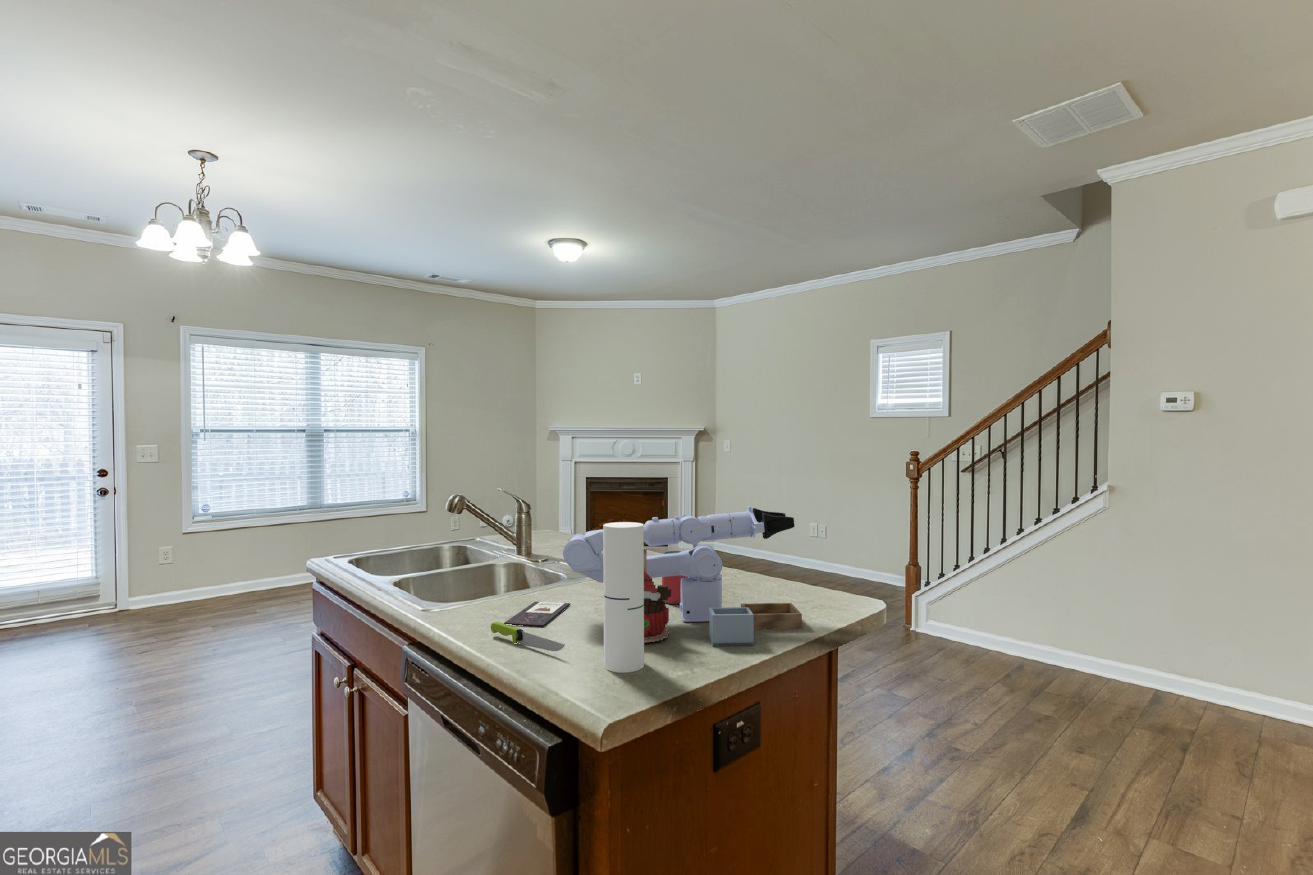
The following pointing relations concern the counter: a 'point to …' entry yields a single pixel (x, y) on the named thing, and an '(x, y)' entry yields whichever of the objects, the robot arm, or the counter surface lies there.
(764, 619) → the walnut crate
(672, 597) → the beer can
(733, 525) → the robot arm
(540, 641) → the kitchen knife
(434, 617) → the counter surface
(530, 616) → the chocolate bar
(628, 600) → the cylindrical container
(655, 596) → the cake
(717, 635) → the grey crate
